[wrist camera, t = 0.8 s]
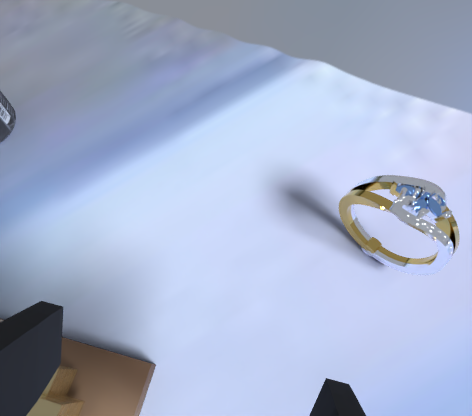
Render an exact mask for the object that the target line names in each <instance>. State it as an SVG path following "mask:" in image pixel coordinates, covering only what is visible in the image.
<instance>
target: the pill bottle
mask: <svg viewBox="0 0 472 416" xmlns="http://www.w3.org/2000/svg"><path fill="white" fill-rule="evenodd" d="M15 119H16V116H15V111H14V109H13V107H12V106H11V104H10V103H9V101H8V100H7V99H6V98H5V96H4V95H3V94H2V92H1V91H0V143H1V142H2V141H4V140H5V139H6V138H7V137H8V135H9V134H10V133H11V131H12V130H13V128H14V125H15Z"/></svg>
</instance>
